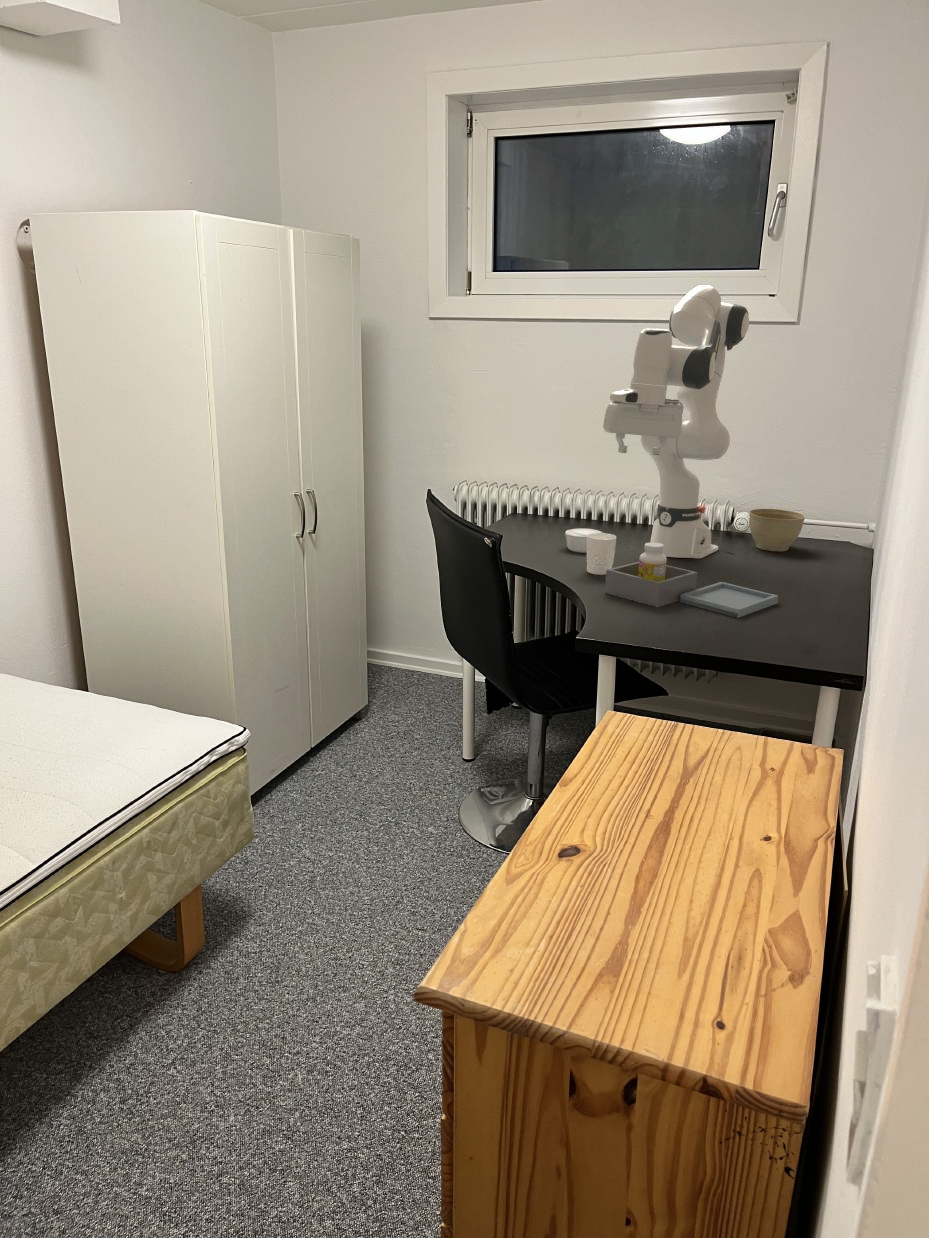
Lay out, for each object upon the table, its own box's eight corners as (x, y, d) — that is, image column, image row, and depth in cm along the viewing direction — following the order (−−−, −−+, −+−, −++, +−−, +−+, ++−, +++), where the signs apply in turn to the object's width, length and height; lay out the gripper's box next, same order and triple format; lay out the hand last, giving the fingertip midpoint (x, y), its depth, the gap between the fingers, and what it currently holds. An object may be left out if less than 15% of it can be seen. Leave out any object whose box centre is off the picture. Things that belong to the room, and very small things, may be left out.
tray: (720, 589, 235) (721, 581, 234) (777, 603, 223) (778, 595, 223) (680, 602, 223) (680, 594, 222) (738, 617, 212) (739, 609, 211)
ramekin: (561, 552, 270) (562, 534, 268) (567, 543, 280) (568, 527, 279) (599, 555, 267) (600, 537, 266) (604, 546, 278) (605, 529, 276)
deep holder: (643, 581, 240) (645, 559, 238) (695, 595, 229) (697, 572, 227) (604, 592, 229) (606, 569, 228) (657, 607, 218) (659, 583, 216)
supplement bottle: (631, 591, 231) (635, 542, 227) (654, 589, 233) (658, 540, 229) (645, 599, 225) (649, 548, 221) (668, 596, 227) (673, 546, 223)
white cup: (613, 576, 244) (615, 540, 241) (583, 574, 246) (585, 538, 243) (614, 569, 252) (617, 534, 249) (585, 567, 253) (588, 532, 250)
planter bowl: (774, 557, 269) (779, 521, 266) (734, 545, 282) (738, 511, 279) (811, 551, 277) (816, 516, 273) (770, 540, 290) (774, 506, 287)
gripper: (677, 399, 229) (669, 454, 233) (604, 393, 223) (597, 450, 226) (690, 401, 223) (682, 457, 227) (616, 394, 217) (608, 453, 220)
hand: (639, 454), depth 226 cm, fingers open, 8 cm apart
